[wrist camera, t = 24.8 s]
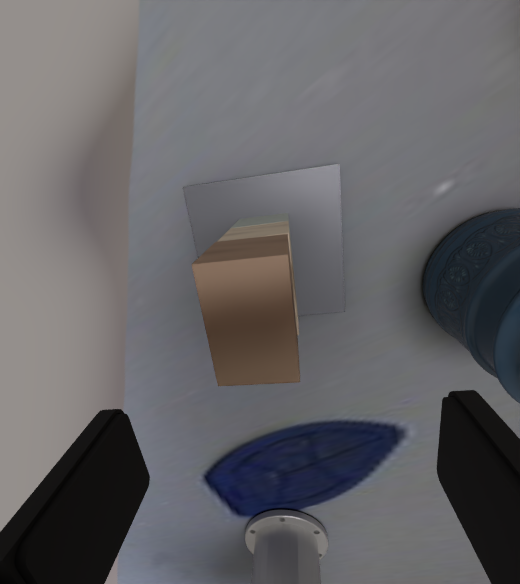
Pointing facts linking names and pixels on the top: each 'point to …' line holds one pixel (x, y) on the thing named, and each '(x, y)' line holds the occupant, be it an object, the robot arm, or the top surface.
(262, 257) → the walnut brick
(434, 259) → the canister
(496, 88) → the top surface
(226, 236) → the maple brick
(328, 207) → the tower base
